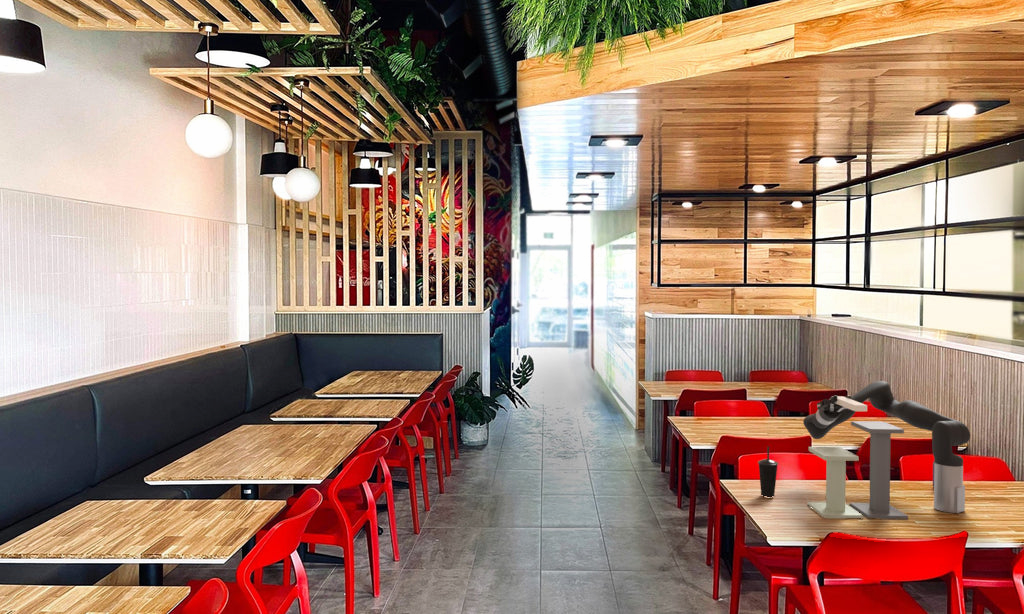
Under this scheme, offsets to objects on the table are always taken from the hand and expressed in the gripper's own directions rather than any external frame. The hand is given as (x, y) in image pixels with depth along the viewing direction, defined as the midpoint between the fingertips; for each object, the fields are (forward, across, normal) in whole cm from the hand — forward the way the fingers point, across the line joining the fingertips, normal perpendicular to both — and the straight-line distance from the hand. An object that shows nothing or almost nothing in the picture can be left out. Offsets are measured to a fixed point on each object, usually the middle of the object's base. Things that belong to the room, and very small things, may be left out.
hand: (842, 397), depth 285 cm
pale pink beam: (+4, 0, +5) cm, 6 cm away
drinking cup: (-24, -27, +33) cm, 49 cm away
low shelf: (-8, -8, +42) cm, 43 cm away
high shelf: (-10, +8, +41) cm, 43 cm away
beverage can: (-39, +50, +25) cm, 68 cm away
